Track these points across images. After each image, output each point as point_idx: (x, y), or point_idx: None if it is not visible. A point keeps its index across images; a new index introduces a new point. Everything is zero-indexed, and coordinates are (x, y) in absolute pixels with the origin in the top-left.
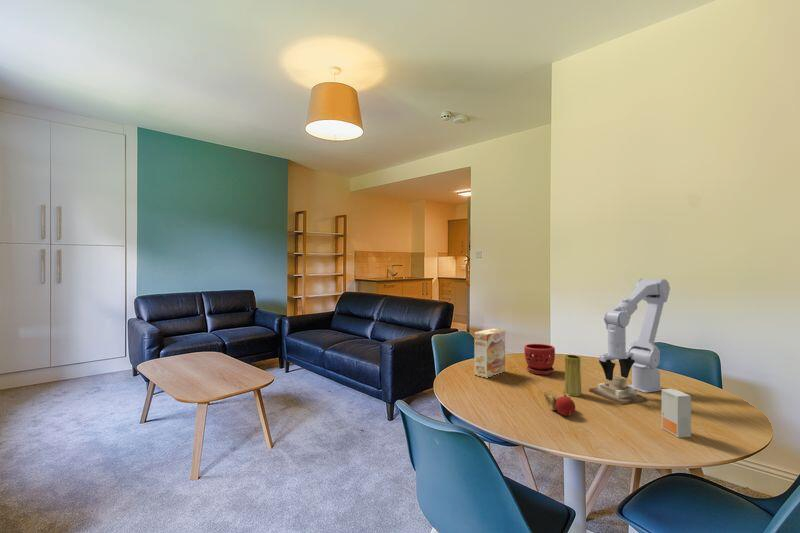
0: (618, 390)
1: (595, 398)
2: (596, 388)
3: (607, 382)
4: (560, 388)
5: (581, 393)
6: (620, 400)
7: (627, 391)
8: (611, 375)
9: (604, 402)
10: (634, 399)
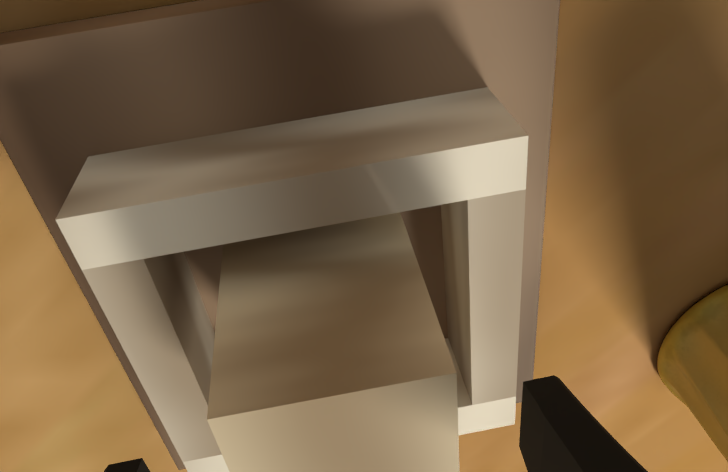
0: (477, 181)
1: (657, 201)
2: None
3: None
4: (703, 436)
5: (704, 312)
6: (531, 5)
7: (298, 163)
8: (625, 457)
9: (689, 67)
10: (256, 3)
